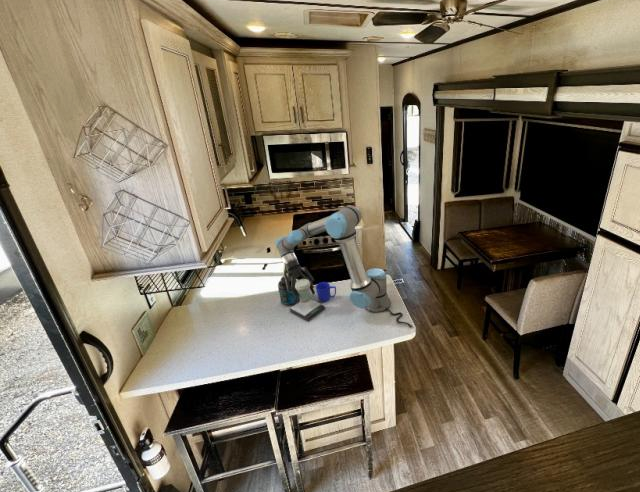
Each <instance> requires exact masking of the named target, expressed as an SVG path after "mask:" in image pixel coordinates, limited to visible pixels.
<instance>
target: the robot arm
mask: <svg viewBox="0 0 640 492" xmlns="http://www.w3.org/2000/svg"><path fill="white" fill-rule="evenodd" d="M361 220H362V211H360V209H359V208H358V207H357V206H354V205H347V206H344V207H343V208H341V209H340V210H338V211H336V212H334V213H332V214H331V215H328V216H326V217H323V218H320V219H318V220H315V221H312V222H308V223H305V224H304V225H303V226H301V227H299V228H297V229H294V230H292V231H291V232H288V234H287V235H286V236H281V237H279V238H277V239H276V240H275V241H274V244H275V247H276V249H277V252H278V254H279V256H280V257H281V260H282V262H283V265H284V267H285V270H286V271H287V272H286V273H284V274H283V275H282V277H284V278H285V281H286V286H287V291H288V292H289V291H291V292H292V294H293V296H296V298H297V300H298V301H299V302H300V298H299V296H298V294H297V291H296V289H295V290H294V278H297V277H300V278H301V279H307V280H309V282H310V293H311V294H312V295H313V296H314V295H315V294H316V290H315V289H314V288H315V286H314V283H313V282H314V281H315V278H314V277H313V275H312V274H311V273H310V271H309V270H308V268H307V266H303V267H301V265H300V263H299V260H298V258H297V256H296V254H295V252H294V250H293V249H294V248H295V247H296V246H297V245H299V244H301V243H302V242H304V241H305V240H307V239H308V238H311V237H313V236H315V235H319V234H321V233H324V232H326V233H327V234H328V235H329V236H330V237H331V238H332V239H333V240H334V241H335V242H337V243H338V244H339V248H340V250H341V254H342V257H343V260H344V263H345V264H346V268H347V272H348V275H349V277H350V281H351V283H350V285H349V288H350V290H351V292H350V293H349V296H348V297H349V301H350V302H351V303H352V305H353V306H355V307H356V308H359V309H366V310H367V311H369V312H371V313H382V312H384V311H388V312H389V313H390V314H391V315H392V316H397V315H399V316H398V317H397V318H396V322H397V323H399V324H405V325H408V326H409V327H410V328H412V327H413V326H412V325H411V324H410V323H409V322H407V321H400V320H399V319H400V318H401V317H402V316H403V313H402V312H397V313H393V312H392V311H391V310H390V309H389V308H390V306H391V299H390V298H389V295H388V289H387V286H388V285H387V273H386V271H385V270H383V269H381V268H370V269H368V270H366V269H365V266H364V263H363V258H362V256H361V253H360V250H359V247H358V243H357V240H356V235H357V230H356V227H357V226H358V225H359V224H360V223H361ZM303 272H304V273H303ZM288 275H289V276H291V289H290V285H289V280H288Z"/></svg>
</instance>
